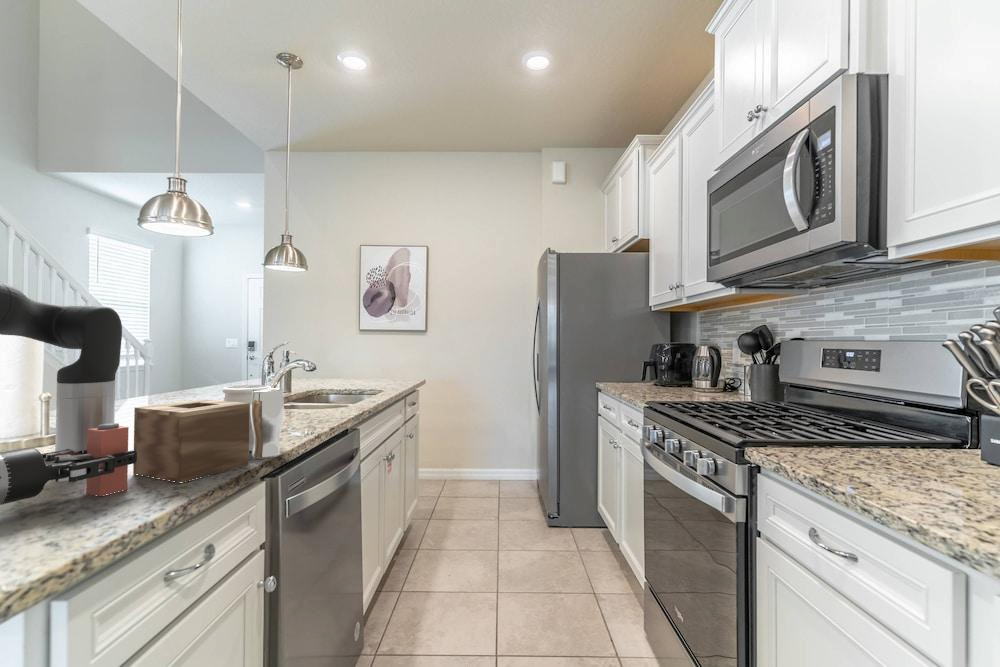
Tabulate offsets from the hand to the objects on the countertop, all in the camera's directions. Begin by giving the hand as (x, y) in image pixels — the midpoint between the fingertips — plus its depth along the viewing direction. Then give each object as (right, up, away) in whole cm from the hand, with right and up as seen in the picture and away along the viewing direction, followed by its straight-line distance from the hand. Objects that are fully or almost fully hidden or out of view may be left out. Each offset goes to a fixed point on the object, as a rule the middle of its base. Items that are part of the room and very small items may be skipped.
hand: (121, 454), depth 82 cm
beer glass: (+14, -7, +23) cm, 28 cm away
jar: (+6, -7, +30) cm, 31 cm away
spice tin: (-1, -6, -2) cm, 6 cm away
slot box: (+5, -6, +12) cm, 14 cm away
